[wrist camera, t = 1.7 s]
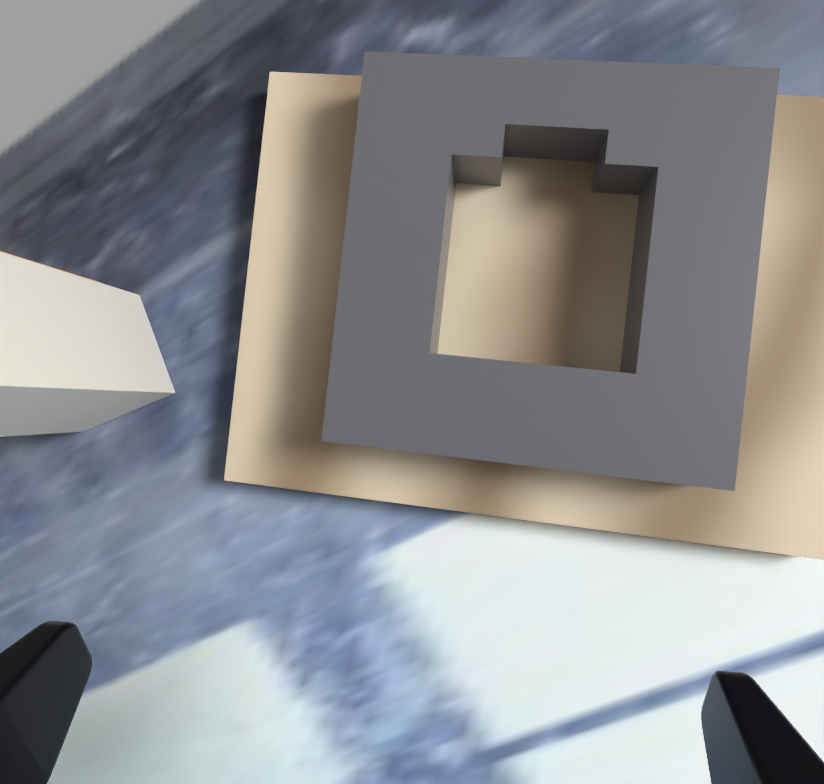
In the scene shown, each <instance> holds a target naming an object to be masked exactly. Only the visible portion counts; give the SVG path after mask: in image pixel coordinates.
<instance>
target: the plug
mask: <svg viewBox="0 0 824 784" xmlns="http://www.w3.org/2000/svg"><path fill="white" fill-rule="evenodd" d="M174 393H175V390H174V388H173V385H172V382H171V380H170V377H169V374H168V371H167V369H166V366H165V363H164V360H163V358H162V355H161V352H160V350H159V347H158V344H157V341H156V339H155V336H154V333H153V331H152V328H151V325H150V322H149V320H148V317H147V314H146V312H145V309H144V306H143V303H142V301H141V298H140V295H137V294H134V293H131V292H128V291H124V290H121V289H118V288H115V287H112V286H108V285H105V284H103V283H101V282H97V281H94V280H91V279H88V278H85V277H81V276H78V275H75V274H72V273H69V272H65V271H62V270H59V269H56V268H53V267H49V266H46V265H43V264H40V263H37V262H33V261H30V260H27V259H24V258H21V257H17V256H14V255H11V254H8V253H5V252H1V251H0V437H6V436H22V435H38V434H54V433H70V432H84V431H86V430H88V429H91V428H93V427H96V426H98V425H100V424H103V423H105V422H107V421H110V420H112V419H115V418H117V417H119V416H122V415H124V414H126V413H129V412H131V411H133V410H136V409H138V408H141V407H143V406H145V405H148V404H150V403H152V402H155V401H157V400H160V399H162V398H164V397H167V396H169V395H171V394H174Z"/></svg>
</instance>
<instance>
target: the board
mask: <svg viewBox="0 0 824 784" xmlns="http://www.w3.org/2000/svg"><path fill="white" fill-rule="evenodd" d="M361 81H362V76H353V75H331V74H310V73H288V72H270V76H269V84H268V93H267V102H266V111H265V120H264V129H263V138H262V147H261V156H260V164H259V173H258V182H257V191H256V200H255V209H254V218H253V227H252V236H251V244H250V253H249V262H248V271H247V280H246V289H245V298H244V307H243V315H242V324H241V333H240V342H239V351H238V360H237V369H236V378H235V387H234V395H233V404H232V413H231V422H230V431H229V440H228V449H227V458H226V467H225V475H224V480H226V481H233V482H241V483H249V484H256V485H264V486H271V487H279V488H286V489H294V490H301V491H309V492H317V493H324V494H332V495H339V496H347V497H354V498H362V499H369V500H377V501H385V502H392V503H400V504H407V505H415V506H422V507H430V508H437V509H445V510H453V511H460V512H468V513H475V514H483V515H490V516H498V517H505V518H513V519H520V520H528V521H536V522H543V523H551V524H558V525H566V526H573V527H581V528H588V529H596V530H604V531H611V532H619V533H626V534H634V535H641V536H649V537H656V538H664V539H672V540H679V541H687V542H694V543H702V544H709V545H717V546H724V547H732V548H739V549H747V550H755V551H762V552H770V553H777V554H785V555H792V556H800V557H807V558H815V559H823V560H824V97H813V96H791V95H777V98H776V108H775V117H774V127H773V136H772V145H771V155H770V164H769V174H768V183H767V192H766V202H765V211H764V221H763V230H762V239H761V249H760V258H759V268H758V277H757V286H756V296H755V305H754V315H753V324H752V333H751V343H750V352H749V362H748V371H747V380H746V390H745V399H744V409H743V418H742V427H741V437H740V446H739V456H738V465H737V474H736V484H735V491H730V490H721V489H713V488H705V487H697V486H689V485H680V484H672V483H664V482H656V481H647V480H639V479H631V478H623V477H615V476H606V475H598V474H590V473H582V472H573V471H565V470H557V469H549V468H541V467H532V466H524V465H516V464H508V463H499V462H491V461H483V460H475V459H467V458H458V457H450V456H442V455H434V454H425V453H417V452H409V451H401V450H392V449H384V448H376V447H368V446H360V445H351V444H343V443H335V442H327V441H321V440H322V431H323V422H324V413H325V404H326V395H327V386H328V377H329V368H330V359H331V350H332V341H333V332H334V323H335V315H336V306H337V297H338V288H339V279H340V270H341V261H342V252H343V243H344V234H345V225H346V216H347V207H348V198H349V189H350V180H351V171H352V162H353V153H354V144H355V135H356V126H357V117H358V108H359V99H360V90H361ZM594 170H595V162H587V161H571V160H554V159H538V158H521V157H505V156H504V161H503V170H502V179H501V186H493V185H478V184H463V183H456V190H455V199H454V208H453V217H452V226H451V236H450V245H449V254H448V263H447V272H446V281H445V290H444V299H443V308H442V317H441V326H440V335H439V344H438V354H444V355H454V356H464V357H474V358H484V359H494V360H504V361H514V362H524V363H533V364H543V365H553V366H563V367H573V368H583V369H593V370H603V371H613V372H620V366H621V357H622V348H623V339H624V329H625V320H626V311H627V301H628V292H629V283H630V274H631V264H632V255H633V246H634V237H635V227H636V218H637V209H638V200H639V195H629V194H614V193H599V192H592V188H593V179H594Z"/></svg>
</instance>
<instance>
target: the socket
mask: <svg viewBox="0 0 824 784" xmlns="http://www.w3.org/2000/svg"><path fill="white" fill-rule="evenodd" d="M779 70H780V68H761V67H737V66H712V65H687V64H663V63H638V62H613V61H589V60H564V59H539V58H515V57H490V56H466V55H441V54H416V53H392V52H367V51H365V54H364V63H363V72H362V81H361V90H360V99H359V108H358V117H357V126H356V135H355V144H354V153H353V162H352V171H351V180H350V189H349V198H348V207H347V216H346V225H345V234H344V243H343V252H342V261H341V270H340V279H339V288H338V297H337V306H336V315H335V323H334V332H333V341H332V350H331V359H330V368H329V377H328V386H327V395H326V404H325V413H324V422H323V431H322V440H321V441H327V442H335V443H343V444H351V445H360V446H368V447H376V448H384V449H392V450H401V451H409V452H417V453H425V454H434V455H442V456H450V457H458V458H467V459H475V460H483V461H491V462H499V463H508V464H516V465H524V466H532V467H541V468H549V469H557V470H565V471H573V472H582V473H590V474H598V475H606V476H615V477H623V478H631V479H639V480H647V481H656V482H664V483H672V484H680V485H689V486H697V487H705V488H713V489H721V490H730V491H735V484H736V474H737V465H738V456H739V446H740V437H741V427H742V418H743V409H744V399H745V390H746V380H747V371H748V362H749V352H750V343H751V333H752V324H753V315H754V305H755V296H756V286H757V277H758V268H759V258H760V249H761V239H762V230H763V221H764V211H765V202H766V192H767V183H768V174H769V164H770V155H771V145H772V136H773V127H774V117H775V108H776V98H777V89H778V80H779ZM504 156H505V157H521V158H538V159H554V160H571V161H587V162H595V170H594V179H593V188H592V192H599V193H614V194H629V195H639V200H638V209H637V218H636V227H635V237H634V246H633V255H632V264H631V274H630V283H629V292H628V301H627V311H626V320H625V329H624V339H623V348H622V357H621V366H620V372H613V371H603V370H593V369H583V368H573V367H563V366H553V365H543V364H533V363H524V362H514V361H504V360H494V359H484V358H474V357H464V356H454V355H444V354H438V344H439V335H440V326H441V317H442V308H443V299H444V290H445V281H446V272H447V263H448V254H449V245H450V236H451V226H452V217H453V208H454V199H455V190H456V183H463V184H478V185H493V186H501V179H502V170H503V161H504Z"/></svg>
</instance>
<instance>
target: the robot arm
mask: <svg viewBox="0 0 824 784" xmlns="http://www.w3.org/2000/svg"><path fill="white" fill-rule="evenodd" d="M91 668H92V658H91V654H90V652H89V650H88V648H87V646H86V644H85V642H84V640H83V638H82V636H81V634H80V632H79V630H78V628H77V626H76V625H75V624H73V623H70V622H57V621H49V622H45V623H43V624H41V625H39V626H38V627H36V628H35V629H33V630H32V631H31V632H29V633H28V634H27V635H25V636H24V637H22V638H21V639H20V640H18V641H17V642H16V643H14V644H13V645H11V646H10V647H9V648H7V649H6V650H4V651H3V652H2V653H0V784H47V782H48V780H49V778H50V775H51V773H52V771H53V768H54V766H55V764H56V761H57V758H58V756H59V753H60V751H61V748H62V746H63V743H64V740H65V738H66V735H67V733H68V730H69V727H70V725H71V722H72V720H73V717H74V714H75V712H76V709H77V707H78V704H79V701H80V699H81V696H82V694H83V691H84V688H85V686H86V683H87V681H88V678H89V675H90V672H91ZM701 720H702V729H703V735H704V741H705V747H706V753H707V759H708V765H709V771H710V777H711V783H712V784H824V762H823V761H822V759H821V758H820V757H819V756H818V755H817V754H816V752H815V751H814V750H813V749H812V748H811V746H810V745H809V744H808V743H807V742H806V741H805V739H804V738H803V737H802V736H801V735H800V733H799V732H798V731H797V730H796V729H795V728H794V726H793V725H792V724H791V723H790V722H789V720H788V719H787V718H786V717H785V716H784V715H783V713H782V712H781V711H780V710H779V709H778V707H777V706H776V705H775V704H774V703H773V702H772V700H771V699H770V698H769V697H768V696H767V694H766V693H765V692H764V691H763V690H762V689H761V687H760V686H759V685H758V684H757V683H756V681H755V680H754V679H753V678H752V677H750V676H749V675H747V674H745V673H740V672H727V671H717V672H715V673H714V674H713V675H712V677H711V680H710V684H709V687H708V690H707V693H706V696H705V699H704V702H703V706H702V712H701Z"/></svg>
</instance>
